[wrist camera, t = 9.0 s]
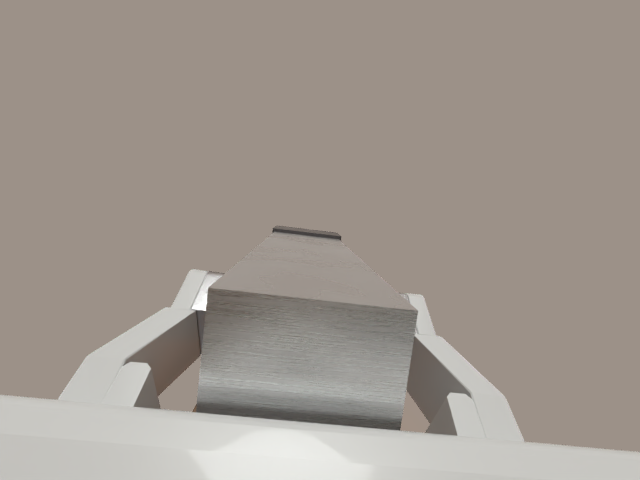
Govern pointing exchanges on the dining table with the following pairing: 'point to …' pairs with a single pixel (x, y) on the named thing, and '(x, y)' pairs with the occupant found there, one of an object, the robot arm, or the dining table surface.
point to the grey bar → (306, 336)
